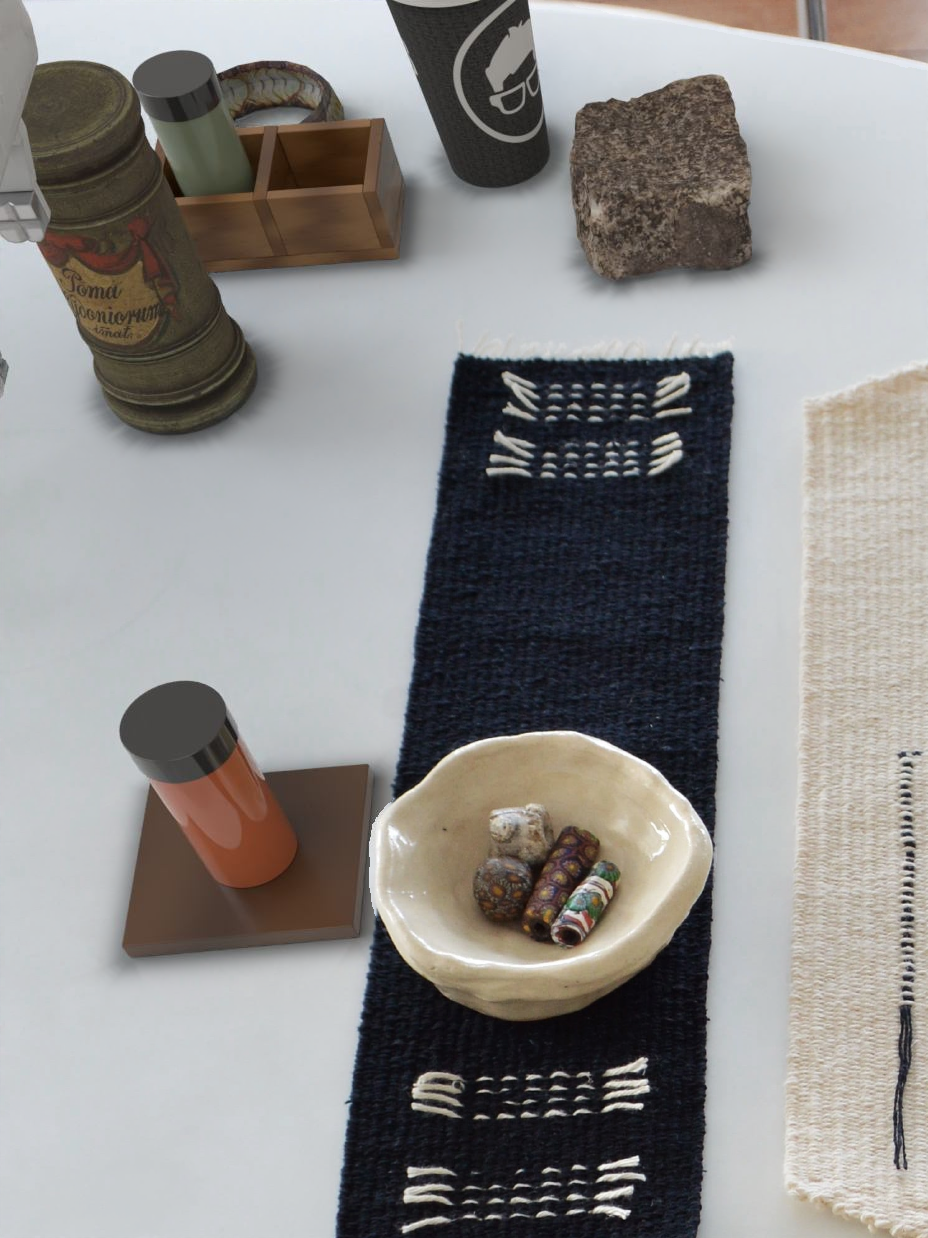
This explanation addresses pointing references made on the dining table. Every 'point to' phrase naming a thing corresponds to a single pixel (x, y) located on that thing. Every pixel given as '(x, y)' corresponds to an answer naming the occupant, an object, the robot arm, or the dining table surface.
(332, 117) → the decorative ring
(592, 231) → the stone
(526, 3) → the coffee cup
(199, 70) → the jar
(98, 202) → the container
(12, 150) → the robot arm
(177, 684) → the spice jar
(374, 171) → the spice rack
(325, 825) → the board
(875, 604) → the dining table surface
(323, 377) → the dining table surface
